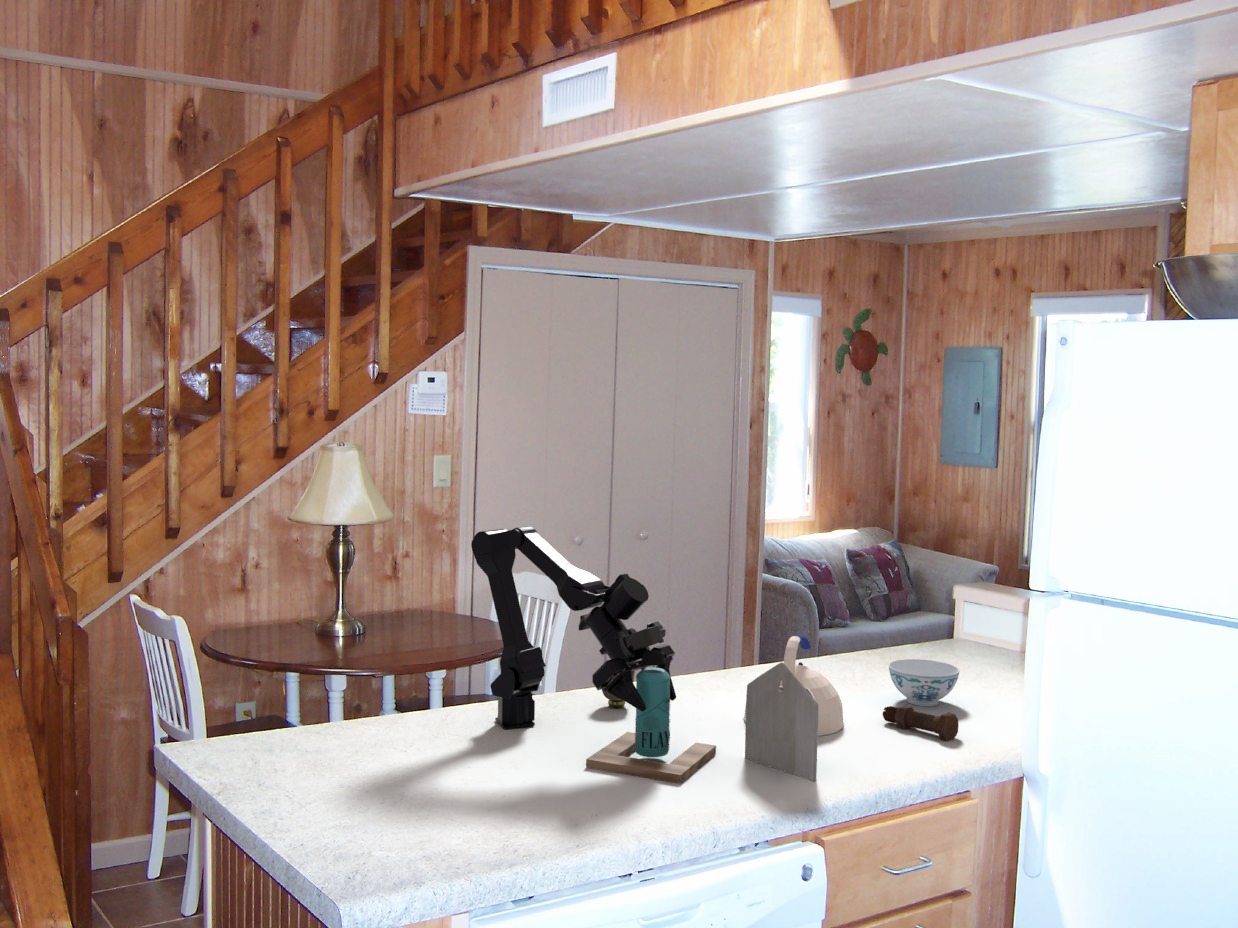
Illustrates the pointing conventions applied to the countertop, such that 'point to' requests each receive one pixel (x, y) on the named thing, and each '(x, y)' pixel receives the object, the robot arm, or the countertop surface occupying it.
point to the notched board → (675, 771)
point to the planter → (782, 723)
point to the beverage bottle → (653, 707)
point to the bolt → (923, 721)
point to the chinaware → (923, 680)
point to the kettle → (815, 688)
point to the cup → (614, 700)
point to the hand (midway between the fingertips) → (659, 704)
